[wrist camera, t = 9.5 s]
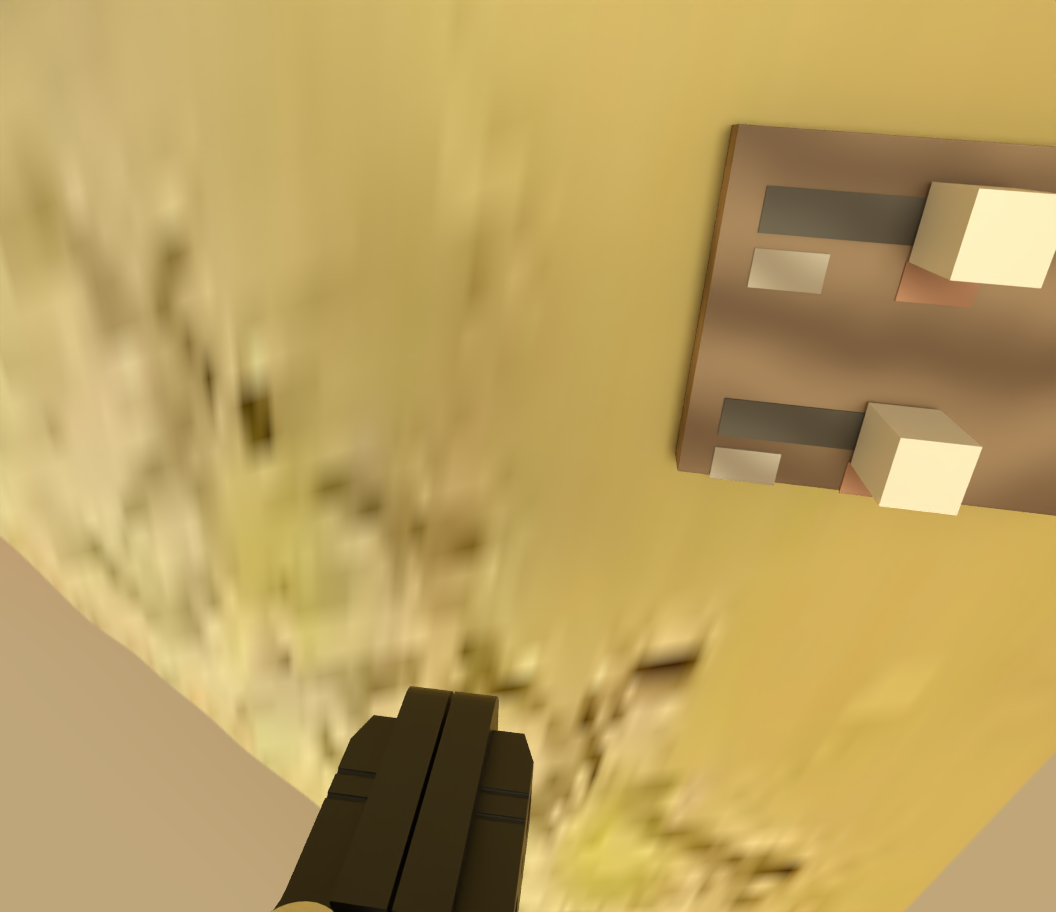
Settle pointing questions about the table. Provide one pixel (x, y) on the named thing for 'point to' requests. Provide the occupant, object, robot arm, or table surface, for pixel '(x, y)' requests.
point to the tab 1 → (914, 458)
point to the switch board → (863, 317)
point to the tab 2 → (987, 234)
